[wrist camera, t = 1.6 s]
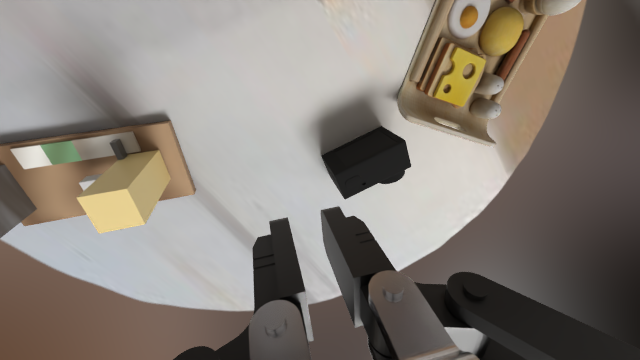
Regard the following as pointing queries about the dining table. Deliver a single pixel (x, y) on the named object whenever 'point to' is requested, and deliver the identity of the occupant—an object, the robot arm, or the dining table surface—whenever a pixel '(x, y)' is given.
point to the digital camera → (367, 161)
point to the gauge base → (77, 170)
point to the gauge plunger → (124, 190)
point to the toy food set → (470, 62)
